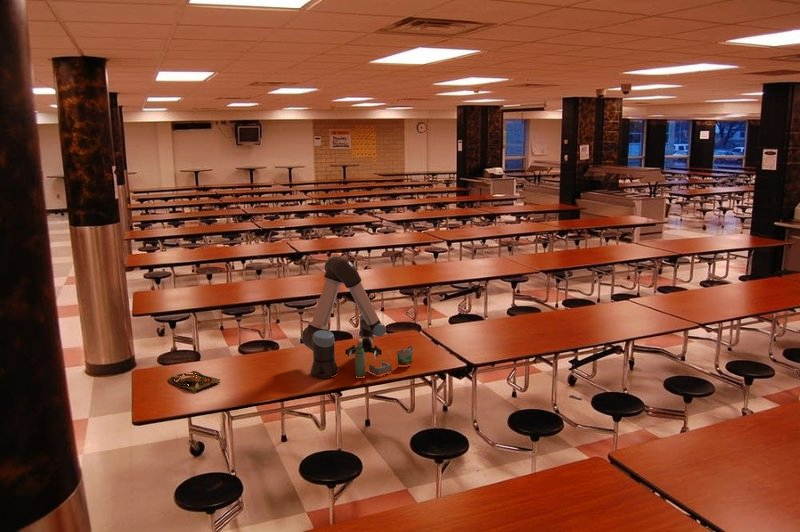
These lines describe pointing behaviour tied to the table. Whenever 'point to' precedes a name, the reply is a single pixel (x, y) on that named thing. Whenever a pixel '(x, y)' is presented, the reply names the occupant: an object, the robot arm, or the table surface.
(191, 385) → the prepared meal
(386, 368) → the bottle rest
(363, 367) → the bottle
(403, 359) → the food container
